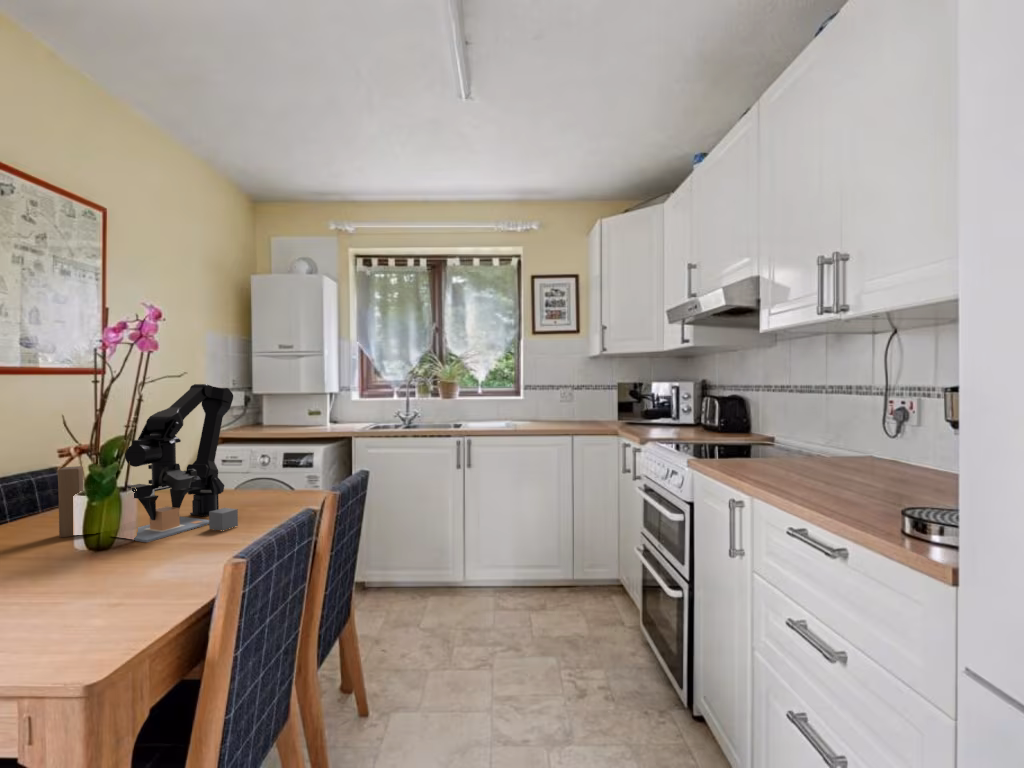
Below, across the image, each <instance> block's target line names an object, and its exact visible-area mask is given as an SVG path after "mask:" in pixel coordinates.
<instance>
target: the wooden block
mask: <svg viewBox="0 0 1024 768" xmlns="http://www.w3.org/2000/svg"><path fill="white" fill-rule="evenodd" d="M57 486H58V487H57V492H58V493H57V494H58V533H59V534H58V535H59V538H60V539H61V538H71V537H74V536H73V496H74V495H75V494H77V493H79V492H80V491H83V492H84V467H83V466H81V465H79V466H64V467H61V468H59V469H58V470H57Z"/></svg>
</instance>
